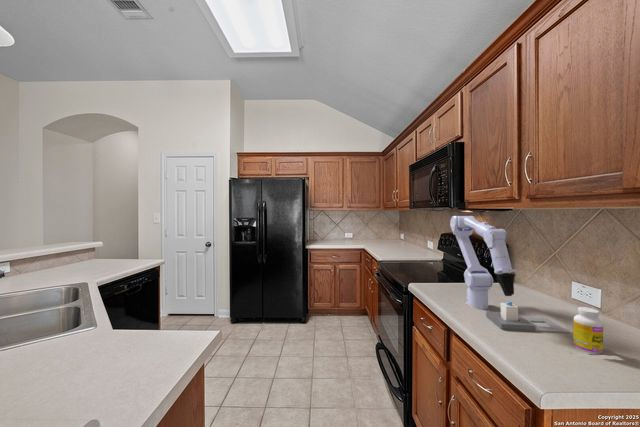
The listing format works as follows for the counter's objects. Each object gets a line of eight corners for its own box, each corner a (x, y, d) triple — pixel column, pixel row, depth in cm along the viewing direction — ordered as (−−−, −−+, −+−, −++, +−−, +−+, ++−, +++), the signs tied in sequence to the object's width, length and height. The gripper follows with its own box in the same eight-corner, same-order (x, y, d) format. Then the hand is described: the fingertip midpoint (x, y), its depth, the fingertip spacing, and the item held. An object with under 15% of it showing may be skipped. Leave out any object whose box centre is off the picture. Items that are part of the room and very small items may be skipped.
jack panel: (486, 318, 110) (486, 311, 110) (546, 321, 107) (546, 314, 107) (501, 332, 98) (501, 323, 98) (570, 336, 95) (570, 327, 95)
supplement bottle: (593, 357, 81) (593, 314, 81) (567, 347, 88) (568, 306, 87) (608, 354, 83) (609, 312, 83) (582, 344, 89) (583, 304, 89)
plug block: (500, 320, 105) (500, 300, 105) (511, 321, 105) (512, 300, 105) (506, 325, 101) (506, 303, 101) (517, 325, 101) (518, 304, 101)
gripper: (514, 254, 99) (525, 293, 94) (511, 261, 111) (520, 296, 106) (492, 256, 102) (500, 294, 97) (490, 262, 114) (498, 296, 109)
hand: (509, 295), depth 102 cm, fingers open, 7 cm apart
